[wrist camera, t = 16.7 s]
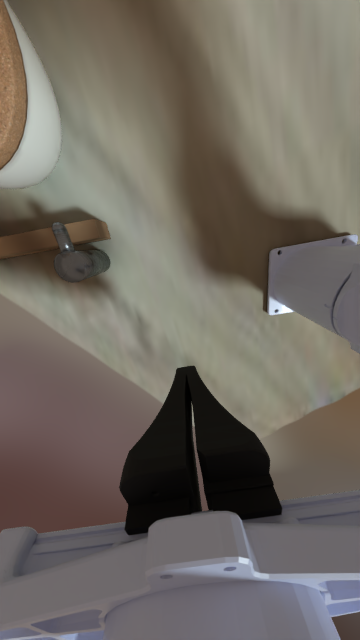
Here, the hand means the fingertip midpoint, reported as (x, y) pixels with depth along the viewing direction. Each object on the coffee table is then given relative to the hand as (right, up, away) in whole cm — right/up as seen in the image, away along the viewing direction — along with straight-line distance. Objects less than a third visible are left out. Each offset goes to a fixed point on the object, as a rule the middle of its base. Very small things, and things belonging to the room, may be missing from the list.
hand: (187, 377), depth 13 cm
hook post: (-10, +12, +6) cm, 16 cm away
